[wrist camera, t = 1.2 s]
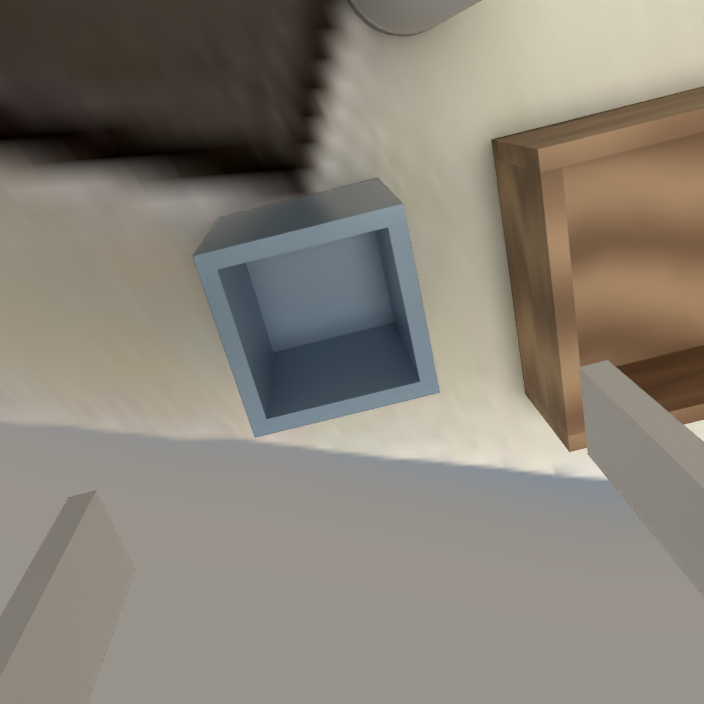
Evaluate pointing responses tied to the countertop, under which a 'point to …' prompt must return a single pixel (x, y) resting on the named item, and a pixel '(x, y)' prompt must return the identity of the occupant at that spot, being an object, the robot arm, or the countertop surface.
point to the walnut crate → (608, 254)
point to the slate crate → (318, 306)
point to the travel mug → (407, 14)
